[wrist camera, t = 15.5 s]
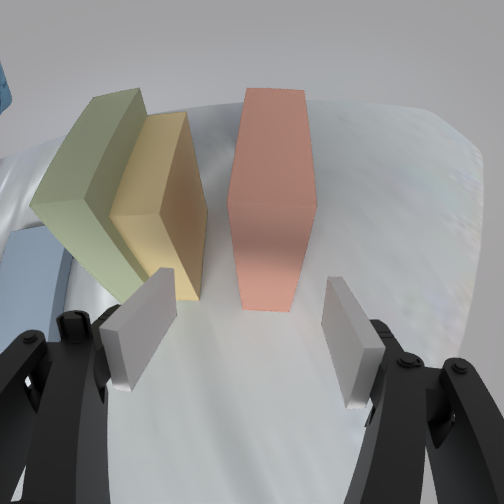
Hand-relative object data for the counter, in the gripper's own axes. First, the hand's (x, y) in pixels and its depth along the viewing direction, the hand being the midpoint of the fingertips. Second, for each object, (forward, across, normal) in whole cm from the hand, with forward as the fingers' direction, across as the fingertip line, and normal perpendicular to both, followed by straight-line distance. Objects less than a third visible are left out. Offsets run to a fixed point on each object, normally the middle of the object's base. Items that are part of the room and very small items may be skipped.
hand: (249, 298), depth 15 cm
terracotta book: (+16, +1, -3) cm, 17 cm away
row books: (+16, -10, -3) cm, 19 cm away
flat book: (+12, -28, -8) cm, 31 cm away
